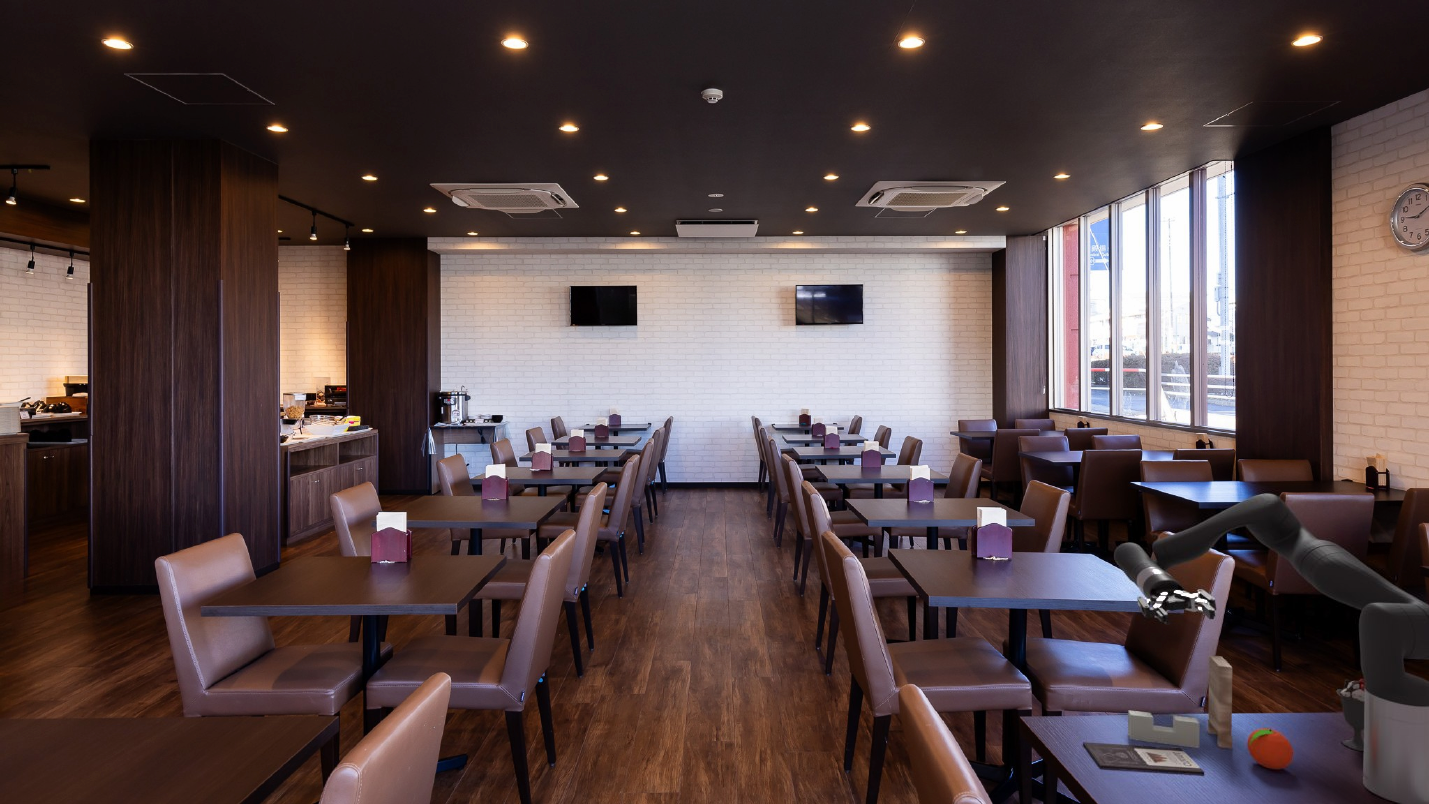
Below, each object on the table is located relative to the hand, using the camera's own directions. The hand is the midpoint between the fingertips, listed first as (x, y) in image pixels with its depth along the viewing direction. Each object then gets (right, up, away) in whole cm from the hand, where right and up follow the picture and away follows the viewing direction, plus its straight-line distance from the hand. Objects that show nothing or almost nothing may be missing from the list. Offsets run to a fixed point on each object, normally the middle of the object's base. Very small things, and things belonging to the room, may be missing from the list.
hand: (1189, 617), depth 156 cm
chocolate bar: (-19, -23, -16) cm, 34 cm away
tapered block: (+1, -22, -8) cm, 24 cm away
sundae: (+26, -22, -11) cm, 36 cm away
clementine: (+2, -23, -19) cm, 30 cm away
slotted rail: (-11, -22, -9) cm, 26 cm away
